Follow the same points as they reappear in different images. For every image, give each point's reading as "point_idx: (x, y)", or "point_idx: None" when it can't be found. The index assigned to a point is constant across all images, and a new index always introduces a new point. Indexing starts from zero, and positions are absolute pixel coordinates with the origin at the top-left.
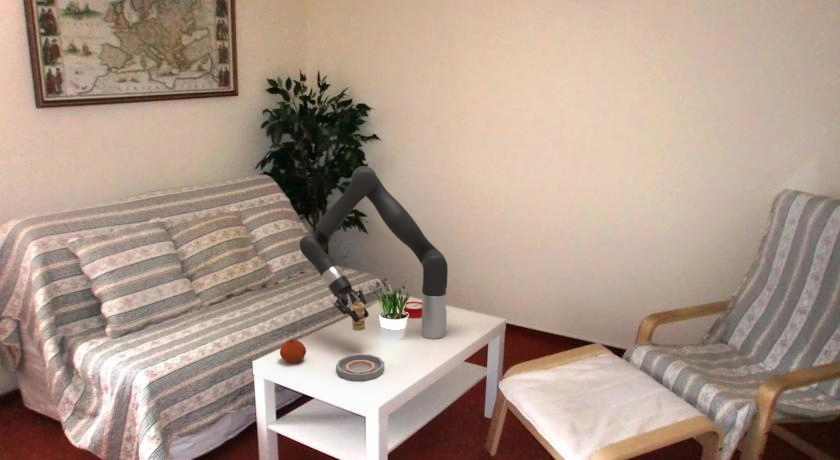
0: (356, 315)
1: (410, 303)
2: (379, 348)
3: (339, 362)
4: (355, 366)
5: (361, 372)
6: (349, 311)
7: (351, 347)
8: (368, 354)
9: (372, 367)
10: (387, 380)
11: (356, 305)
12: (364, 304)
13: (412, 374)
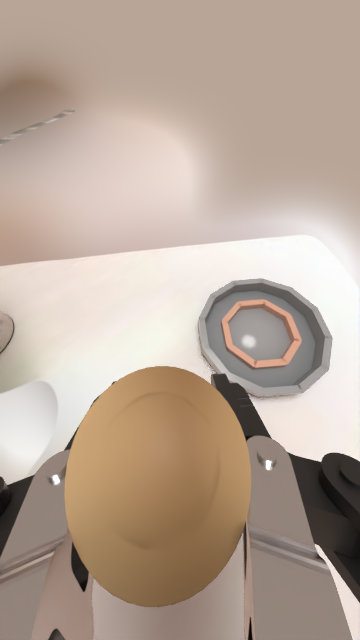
0: (231, 395)
1: None
2: None
3: (308, 377)
4: (259, 350)
5: (277, 306)
6: (302, 463)
7: None
8: (205, 351)
9: (240, 305)
10: (239, 270)
11: (188, 462)
12: (15, 486)
13: (188, 257)
